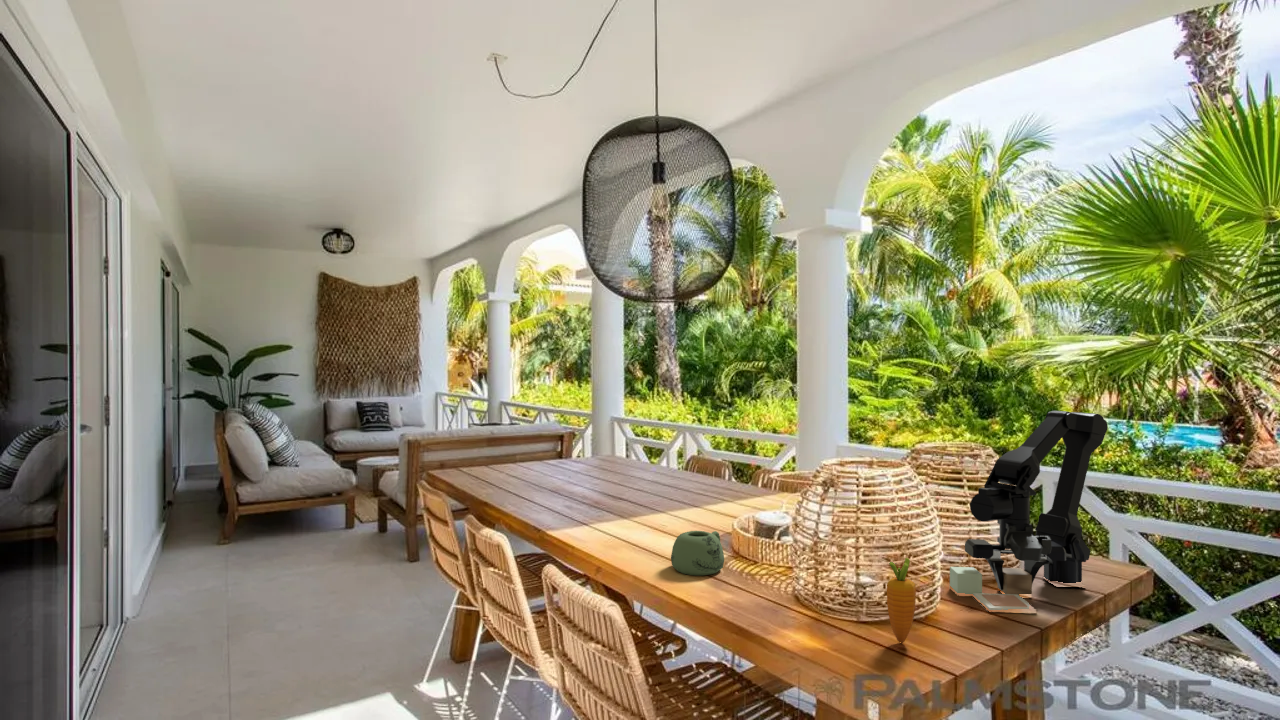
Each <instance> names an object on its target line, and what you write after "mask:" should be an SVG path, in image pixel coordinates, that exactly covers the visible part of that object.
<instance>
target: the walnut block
mask: <svg viewBox="0 0 1280 720" xmlns="http://www.w3.org/2000/svg"><path fill="white" fill-rule="evenodd" d="M1003 581H1004V585H1003V590H1001V589H1000V588H999V586H998V584H997V585H996V586H997V588H999V589H1000V590H1001V591H1003V592H1004V593H1005V594H1018V595H1019V594H1032V595H1033V588H1032V587H1033V583H1032V575H1031V574H1029V573H1028V572H1026V571H1025V570H1024V569H1023V568H1022V567H1003Z"/></svg>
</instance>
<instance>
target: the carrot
mask: <svg viewBox="0 0 1280 720" xmlns="http://www.w3.org/2000/svg"><path fill="white" fill-rule="evenodd" d="M910 562H911V559H909V558H908V557H905V558H904V563H903V565H902V567H901V568H900V567H898V568H897V566H896V563H895V564H894V563H893V562H890V563H889V566H890V568H891V569H892V572H893V573H894V575H895V577H892V578H891V577H890V579H889V580H888V582H886V604H887V605H886V606H887V612H888V618H889V619H888V620H889V623H890V626H891V629H892V632H893V635H894V637H895V638H896V640H897V642H898V643H900V642H901V643H902V644H904V642H905V641H906V640H907V638H908V636H909V634H910V632H911V629H912V626H913V622H914V617H915V611H916V601H917V599H916V598H917V597H916V596H917V587H916V583H915V582H914V581H912V580H911V579H909V578H906V577H907V574H908V572H909V566H910ZM901 643H900V644H901Z"/></svg>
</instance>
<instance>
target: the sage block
mask: <svg viewBox="0 0 1280 720" xmlns="http://www.w3.org/2000/svg"><path fill="white" fill-rule="evenodd" d="M950 586H951V587H952V588H953V589H954V590H955V591H956V592H957V593H965V594H973V593H983V573H981V572H980V571H979V570H978V569H976V568H975V567H973V566H972V567H971V566H970V567H969V566H949V587H950Z"/></svg>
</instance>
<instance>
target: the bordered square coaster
mask: <svg viewBox="0 0 1280 720" xmlns="http://www.w3.org/2000/svg"><path fill="white" fill-rule="evenodd" d="M973 595H974V596H975V597H976V598H977V599H978V600H980V602H981V603H983V604H984V605H985V606H986V607H987V608H988V609H989V610H1002V609H1003V610H1008V609H1029V606H1030V605H1029V602H1028V601H1027V599H1023V598H1022V597H1020V596H1019V595H1018V594H1001V593H985V592H982V593H973Z"/></svg>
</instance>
